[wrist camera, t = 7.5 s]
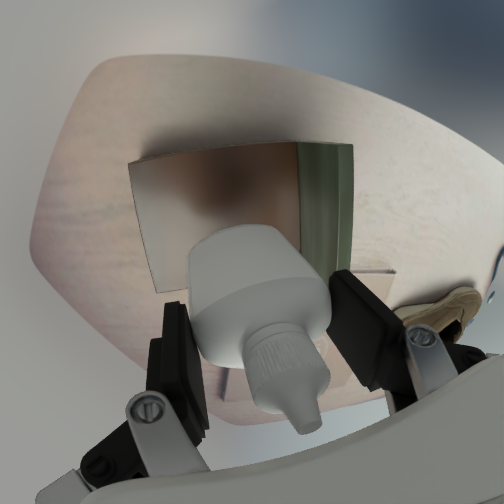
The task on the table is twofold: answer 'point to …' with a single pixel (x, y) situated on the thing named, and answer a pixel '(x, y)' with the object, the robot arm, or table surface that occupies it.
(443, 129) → the table surface
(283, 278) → the eye dropper bottle
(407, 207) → the table surface
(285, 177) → the shelf
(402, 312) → the slip on shoe
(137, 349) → the table surface
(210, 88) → the table surface
